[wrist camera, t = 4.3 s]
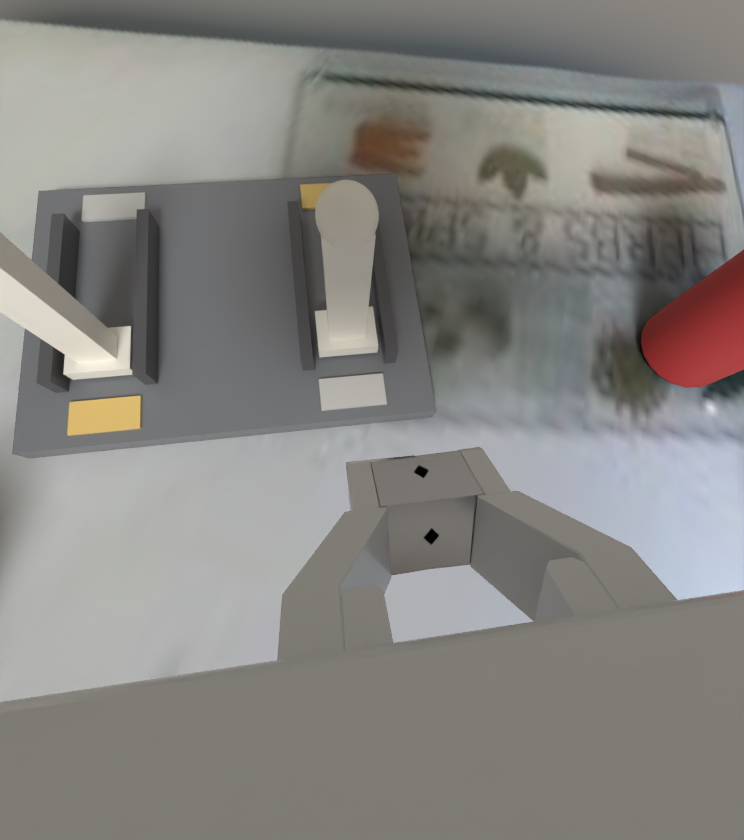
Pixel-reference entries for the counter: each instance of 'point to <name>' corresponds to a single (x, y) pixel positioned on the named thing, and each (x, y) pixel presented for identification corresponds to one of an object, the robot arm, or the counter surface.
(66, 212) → the switch panel
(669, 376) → the beer can
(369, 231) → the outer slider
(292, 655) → the robot arm
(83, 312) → the inner slider
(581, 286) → the counter surface
